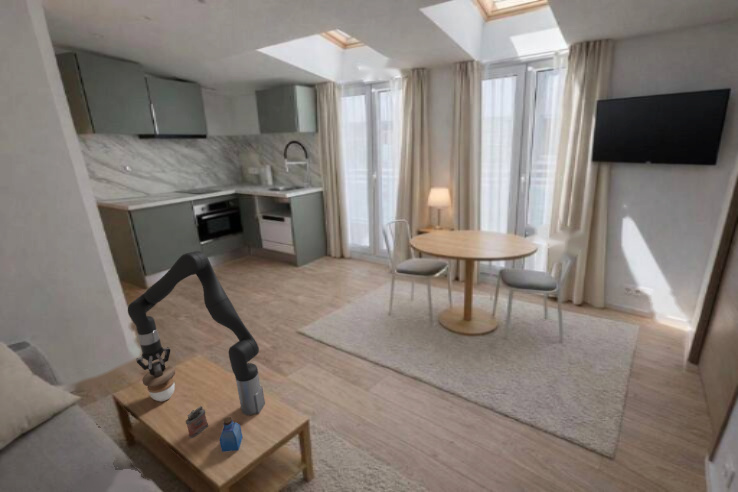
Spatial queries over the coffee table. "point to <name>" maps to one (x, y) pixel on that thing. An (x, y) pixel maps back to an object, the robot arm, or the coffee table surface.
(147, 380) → the walnut lid
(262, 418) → the coffee table surface
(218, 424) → the coffee table surface
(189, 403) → the coffee table surface
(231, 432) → the perfume bottle
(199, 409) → the lighter
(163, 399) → the lidded jar
